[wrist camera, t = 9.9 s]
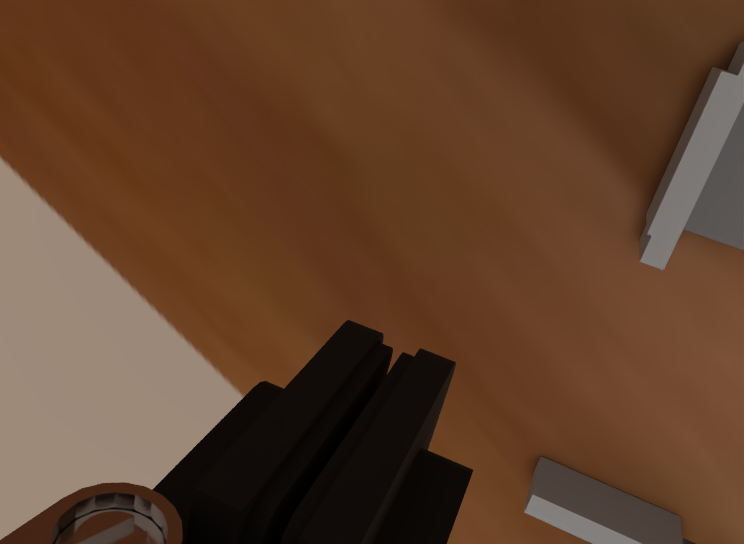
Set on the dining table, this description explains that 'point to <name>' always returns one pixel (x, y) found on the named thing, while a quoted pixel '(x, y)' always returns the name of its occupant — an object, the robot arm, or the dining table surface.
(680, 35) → the dining table surface
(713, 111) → the channel
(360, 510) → the robot arm
